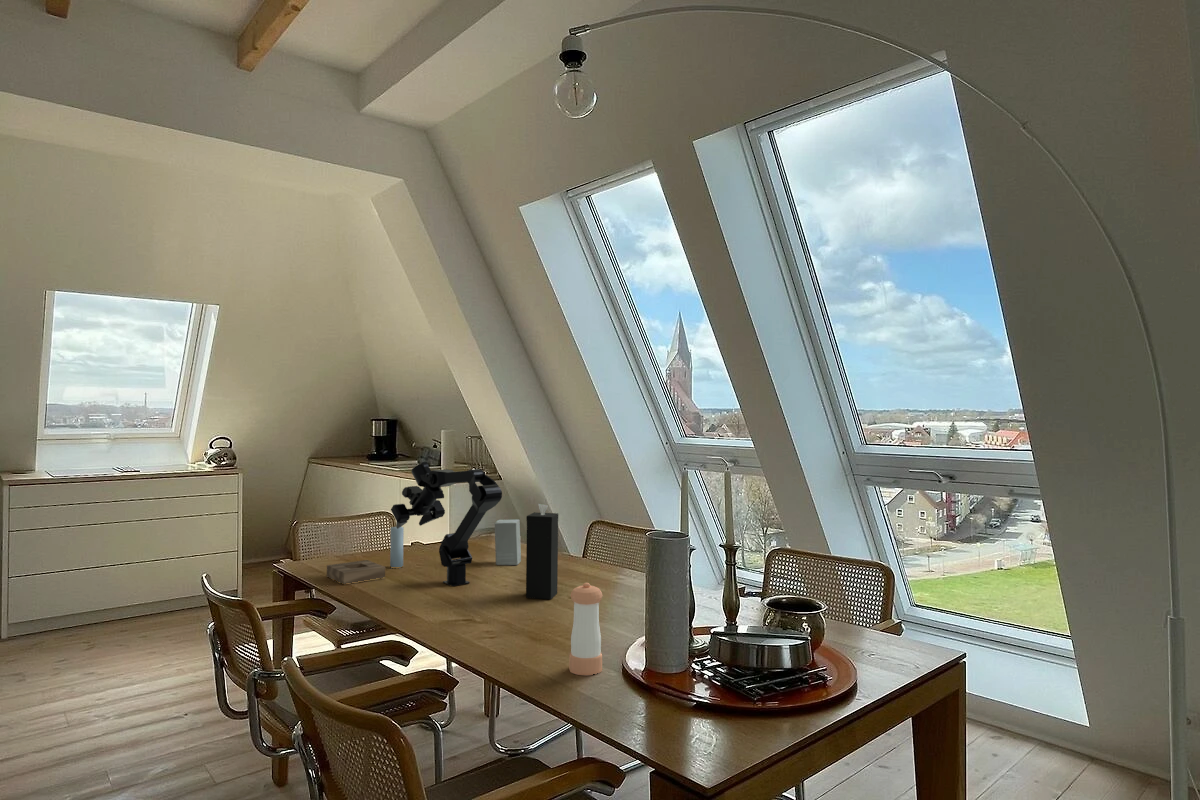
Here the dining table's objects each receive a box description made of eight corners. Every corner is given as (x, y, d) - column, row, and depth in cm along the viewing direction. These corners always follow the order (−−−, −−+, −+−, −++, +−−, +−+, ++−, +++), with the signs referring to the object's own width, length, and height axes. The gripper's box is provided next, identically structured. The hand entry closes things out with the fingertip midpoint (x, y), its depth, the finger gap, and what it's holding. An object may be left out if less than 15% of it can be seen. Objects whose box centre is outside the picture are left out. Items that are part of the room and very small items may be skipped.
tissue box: (550, 600, 231) (551, 506, 231) (525, 598, 232) (526, 505, 232) (557, 593, 239) (558, 502, 239) (532, 592, 240) (533, 501, 240)
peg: (405, 567, 273) (405, 527, 273) (393, 569, 270) (394, 529, 270) (399, 565, 277) (400, 526, 277) (388, 567, 274) (388, 527, 274)
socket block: (385, 578, 256) (385, 566, 256) (343, 585, 246) (343, 572, 246) (366, 571, 266) (367, 559, 266) (326, 577, 257) (326, 565, 257)
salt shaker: (562, 671, 170) (563, 583, 170) (581, 662, 176) (582, 577, 176) (589, 678, 166) (590, 588, 166) (608, 668, 172) (609, 582, 172)
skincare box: (521, 562, 284) (521, 519, 284) (517, 566, 277) (517, 522, 277) (498, 561, 285) (498, 518, 285) (493, 565, 278) (494, 521, 278)
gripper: (440, 477, 272) (421, 505, 280) (394, 480, 258) (375, 510, 266) (454, 501, 267) (434, 530, 274) (407, 506, 253) (388, 536, 260)
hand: (408, 526), depth 269 cm, fingers open, 9 cm apart
